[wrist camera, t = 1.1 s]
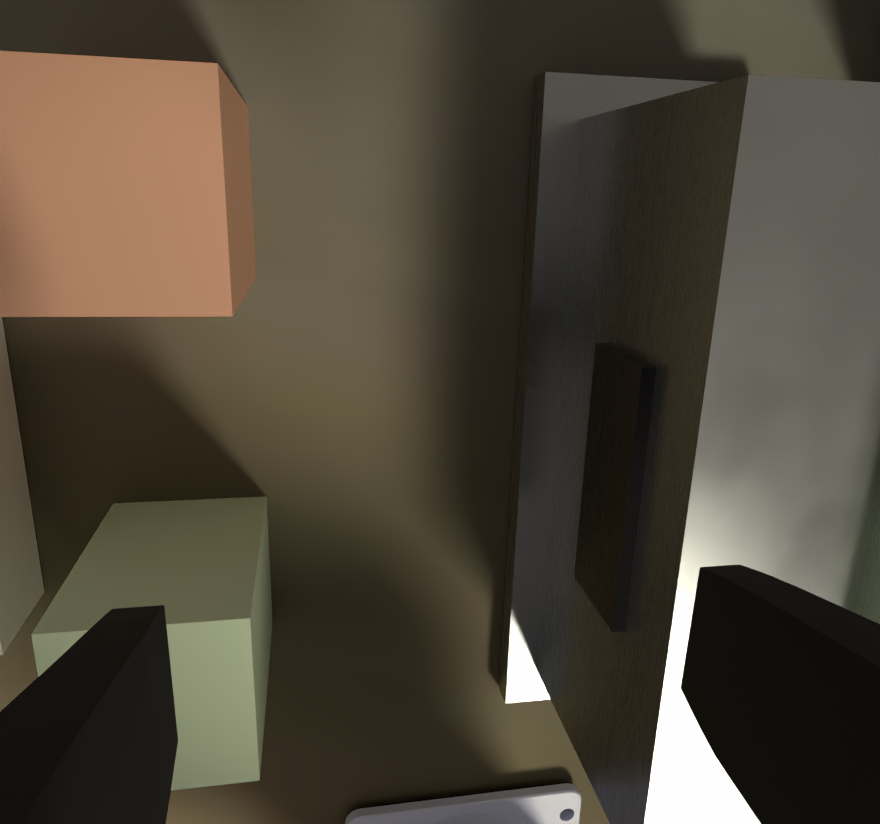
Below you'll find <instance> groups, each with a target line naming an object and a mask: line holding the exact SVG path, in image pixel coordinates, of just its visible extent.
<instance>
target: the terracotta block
mask: <svg viewBox="0 0 880 824" xmlns="http://www.w3.org/2000/svg"><path fill="white" fill-rule="evenodd" d="M255 279H256V267H255V246H254V225H253V205H252V184H251V164H250V143H249V123H248V106H247V105H246V103H245V102H244V101H243V99H242V98H241V96H240V95H239V93H238V92H237V91H236V89H235V88H234V86H233V85H232V83H231V82H230V80H229V79H228V78H227V76H226V75H225V73H224V72H223V70H222V69H221V67H220V66H219V65H218V63H205V62H188V61H170V60H153V59H136V58H118V57H101V56H84V55H66V54H49V53H32V52H14V51H0V317H212V316H233V315H234V313H235V311H236V310H237V308H238V307H239V305H240V303H241V302H242V300H243V298H244V297H245V295H246V293H247V292H248V290H249V289H250V287H251V285H252V284H253V282H254V280H255Z"/></svg>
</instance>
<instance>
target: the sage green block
mask: <svg viewBox="0 0 880 824" xmlns="http://www.w3.org/2000/svg"><path fill="white" fill-rule="evenodd" d="M158 605H164V607H165V617H166V626H167V636H168V646H169V656H170V666H171V675H172V685H173V695H174V705H175V715H176V724H177V734H178V744H177V751H176V758H175V765H174V772H173V779H172V786H171V791H172V790H181V789H190V788H199V787H208V786H216V785H225V784H234V783H243V782H252V781H260V771H261V759H262V747H263V735H264V722H265V710H266V698H267V686H268V674H269V661H270V649H271V637H272V625H273V617H272V596H271V576H270V555H269V534H268V514H267V496H265V497H243V498H221V499H199V500H178V501H156V502H134V503H113V505H112V506H111V508H110V509H109V511H108V513H107V514H106V516H105V517H104V519H103V521H102V522H101V524H100V525H99V527H98V529H97V530H96V532H95V533H94V535H93V537H92V538H91V540H90V541H89V543H88V545H87V546H86V548H85V549H84V551H83V553H82V554H81V556H80V557H79V559H78V561H77V562H76V564H75V565H74V567H73V569H72V570H71V572H70V573H69V575H68V577H67V578H66V580H65V581H64V583H63V585H62V586H61V588H60V589H59V591H58V593H57V594H56V596H55V597H54V599H53V601H52V602H51V604H50V605H49V607H48V609H47V610H46V612H45V613H44V615H43V617H42V618H41V620H40V621H39V623H38V625H37V626H36V628H35V629H34V631H33V633H32V634H31V636H32V642H33V648H34V654H35V661H36V667H37V673H38V677H39V676H40V675H41V674H42V673H43V672H45V671H46V670H47V669H48V668H49V667H50V666H51V665H52V664H53V663H54V662H55V661H56V660H57V659H58V658H60V657H61V656H62V655H63V654H64V653H65V652H66V651H67V650H68V649H69V648H70V647H71V646H72V645H73V644H74V643H75V642H76V641H78V640H79V639H80V638H81V637H82V636H83V635H84V634H85V633H86V632H87V631H88V630H89V629H90V628H91V627H92V626H93V625H95V624H96V623H97V622H98V621H99V620H100V619H101V618H102V617H103V616H104V615H106V614H107V613H108V612H109V611H110V610H111V609H116V608H130V607H144V606H158Z"/></svg>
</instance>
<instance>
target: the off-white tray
mask: <svg viewBox="0 0 880 824" xmlns="http://www.w3.org/2000/svg"><path fill="white" fill-rule="evenodd" d="M43 593H44V586H43V580H42V573H41V567H40V560H39V554H38V547H37V541H36V534H35V528H34V521H33V515H32V508H31V502H30V495H29V489H28V482H27V476H26V469H25V463H24V456H23V450H22V443H21V437H20V430H19V424H18V417H17V411H16V404H15V398H14V391H13V385H12V379H11V372H10V366H9V359H8V353H7V346H6V340H5V333H4V327H3V320H2V317H0V655H3V654H4V653H5V651H6V650H7V648H8V647H9V645H10V644H11V642H12V641H13V639H14V637H15V636H16V634H17V633H18V631H19V630H20V628H21V627H22V625H23V624H24V622H25V621H26V619H27V618H28V616H29V615H30V613H31V612H32V610H33V609H34V607H35V606H36V604H37V603H38V601H39V600H40V598H41V597H42V595H43Z"/></svg>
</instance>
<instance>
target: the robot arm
mask: <svg viewBox="0 0 880 824" xmlns="http://www.w3.org/2000/svg"><path fill="white" fill-rule="evenodd" d="M681 690H682V692H683V694H684V696H685V698H686V701H687V703H688V705H689V707H690V709H691V711H692V713H693V715H694V717H695V719H696V721H697V723H698V725H699V727H700V729H701V731H702V732H703V734H704V736H705V738H706V740H707V742H708V744H709V745H710V747H711V749H712V751H713V753H714V755H715V756H716V758H717V759H718V761H719V762H720V764H721V765H722V767H723V769H724V770H725V772H726V773H727V775H728V776H729V777H730V779H731V780H732V782H733V783H734V785H735V786H736V788H737V789H738V791H739V792H740V794H741V795H742V797H743V798H744V800H745V801H746V803H747V804H748V805H749V807H750V808H751V810H752V811H753V813H754V814H755V816H756V817H757V819H758V820H759V821H760V823H761V824H880V624H878V623H876V622H874V621H872V620H869V619H867V618H865V617H863V616H861V615H858V614H856V613H854V612H852V611H850V610H847V609H845V608H843V607H841V606H839V605H836V604H834V603H832V602H830V601H828V600H825V599H823V598H821V597H819V596H817V595H814V594H812V593H810V592H808V591H805V590H803V589H801V588H799V587H796V586H794V585H792V584H789V583H787V582H785V581H782V580H780V579H778V578H775V577H773V576H770V575H768V574H765V573H763V572H760V571H757V570H755V569H752V568H749V567H746V566H743V565H739V564H738V565H724V566H710V567H700V570H699V576H698V582H697V588H696V595H695V601H694V607H693V613H692V620H691V626H690V632H689V638H688V645H687V651H686V657H685V663H684V670H683V676H682V682H681ZM177 744H178V734H177V724H176V715H175V705H174V695H173V685H172V675H171V666H170V656H169V646H168V636H167V626H166V617H165V607H164V605H158V606H144V607H130V608H116V609H111V610H110V611H109V612H108V613H107V614H106V615H104V616H103V617H102V618H101V619H100V620H99V621H98V622H97V623H96V624H95V625H93V626H92V627H91V628H90V629H89V630H88V631H87V632H86V633H85V634H84V635H83V636H82V637H81V638H80V639H79V640H78V641H76V642H75V643H74V644H73V645H72V646H71V647H70V648H69V649H68V650H67V651H66V652H65V653H64V654H63V655H62V656H61V657H60V658H58V659H57V660H56V661H55V662H54V663H53V664H52V665H51V666H50V667H49V668H48V669H47V670H46V671H45V672H43V673H42V674H41V675H40V676H39V677H38V678H37V679H36V680H35V681H34V682H33V683H31V684H30V685H29V686H28V687H27V688H26V689H25V690H24V691H23V692H22V693H20V694H19V695H18V696H17V697H16V698H15V699H14V700H13V701H12V702H11V703H9V704H8V705H7V706H6V707H5V708H4V709H3V710H2V711H1V712H0V824H165V823H166V817H167V811H168V804H169V798H170V792H171V786H172V779H173V772H174V765H175V758H176V751H177ZM581 801H582V800H581V795H580V793H579V790H578V788H577V787H576V786H575V785H573V784H570V783H564V784H556V785H547V786H539V787H531V788H523V789H515V790H507V791H499V792H491V793H483V794H475V795H466V796H458V797H450V798H442V799H434V800H426V801H418V802H410V803H402V804H394V805H385V806H377V807H369V808H361V809H357V810H354V811H353V812H351V813H350V814H349V815H348V816H347V817H346V821H345V824H579V820H580V810H581ZM565 809H567V810H565ZM563 810H565V811H563Z"/></svg>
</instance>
